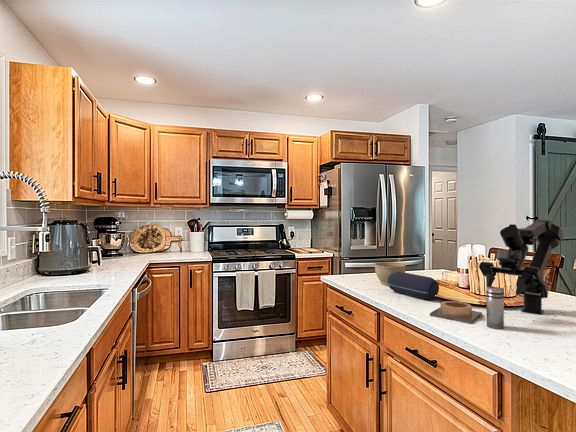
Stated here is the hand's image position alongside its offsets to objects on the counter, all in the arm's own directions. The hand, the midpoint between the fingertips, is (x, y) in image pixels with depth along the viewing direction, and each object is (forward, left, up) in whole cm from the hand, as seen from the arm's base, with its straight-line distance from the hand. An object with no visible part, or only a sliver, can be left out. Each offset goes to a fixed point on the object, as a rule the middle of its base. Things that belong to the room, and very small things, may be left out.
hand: (501, 291), depth 119 cm
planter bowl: (-36, -60, -12) cm, 71 cm away
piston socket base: (0, -15, -11) cm, 19 cm away
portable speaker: (-20, -40, -12) cm, 46 cm away
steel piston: (+5, -1, -11) cm, 12 cm away
